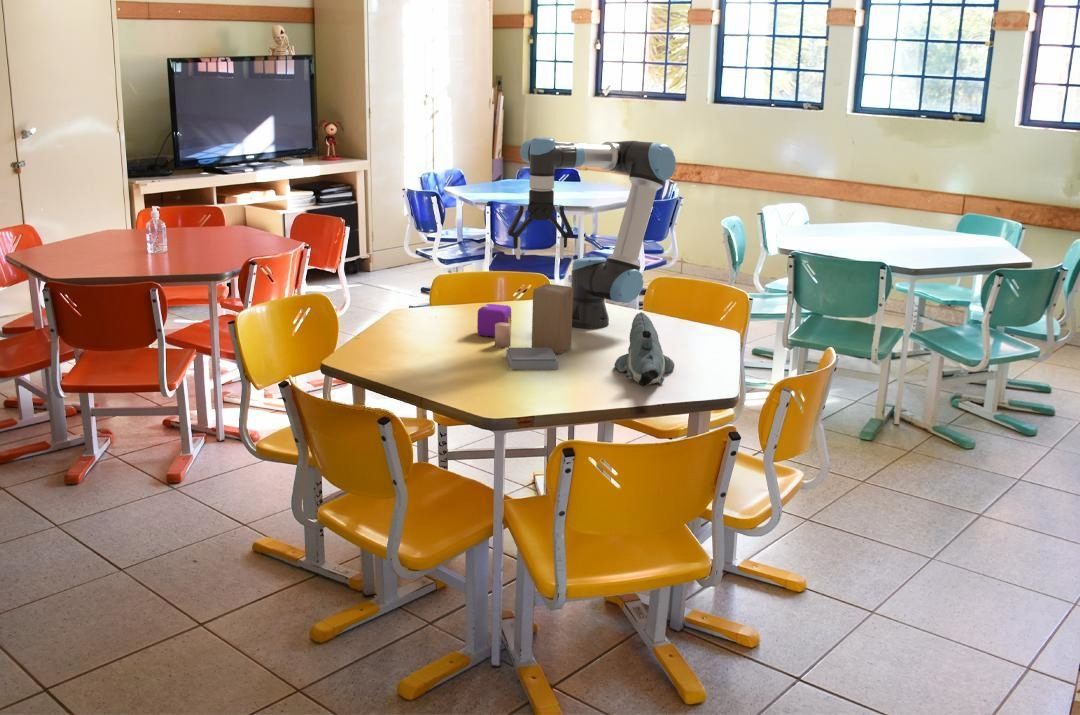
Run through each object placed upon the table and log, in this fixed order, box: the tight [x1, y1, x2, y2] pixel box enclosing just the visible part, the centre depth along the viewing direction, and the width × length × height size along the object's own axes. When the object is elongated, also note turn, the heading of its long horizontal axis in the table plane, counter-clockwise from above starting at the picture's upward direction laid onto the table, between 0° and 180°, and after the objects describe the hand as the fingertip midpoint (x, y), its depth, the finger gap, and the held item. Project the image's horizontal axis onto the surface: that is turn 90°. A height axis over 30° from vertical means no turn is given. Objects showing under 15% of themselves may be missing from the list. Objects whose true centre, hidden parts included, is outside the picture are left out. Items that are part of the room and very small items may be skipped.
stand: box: [505, 347, 559, 370], centre depth 316 cm, size 14×14×3 cm
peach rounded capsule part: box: [494, 323, 512, 348], centre depth 333 cm, size 5×5×7 cm
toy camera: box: [476, 303, 512, 338], centre depth 348 cm, size 11×14×10 cm
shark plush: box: [613, 311, 675, 387], centre depth 299 cm, size 18×39×16 cm, turn 167°
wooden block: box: [531, 283, 573, 355], centre depth 329 cm, size 10×10×20 cm
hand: (539, 258), depth 326 cm, fingers open, 13 cm apart
